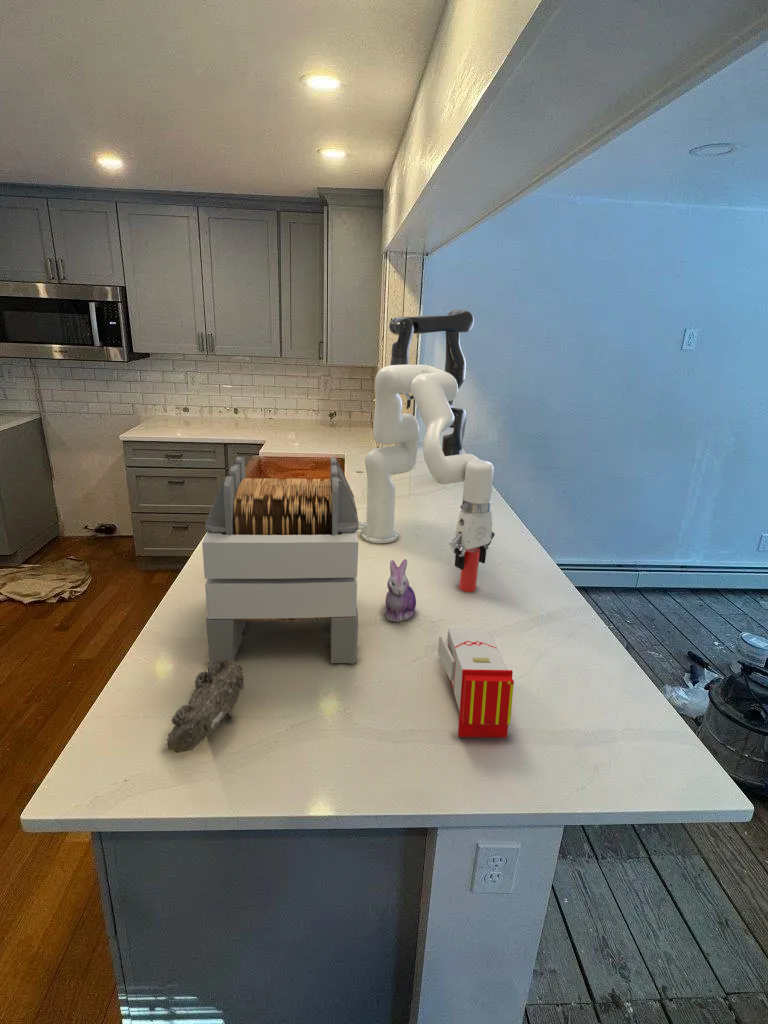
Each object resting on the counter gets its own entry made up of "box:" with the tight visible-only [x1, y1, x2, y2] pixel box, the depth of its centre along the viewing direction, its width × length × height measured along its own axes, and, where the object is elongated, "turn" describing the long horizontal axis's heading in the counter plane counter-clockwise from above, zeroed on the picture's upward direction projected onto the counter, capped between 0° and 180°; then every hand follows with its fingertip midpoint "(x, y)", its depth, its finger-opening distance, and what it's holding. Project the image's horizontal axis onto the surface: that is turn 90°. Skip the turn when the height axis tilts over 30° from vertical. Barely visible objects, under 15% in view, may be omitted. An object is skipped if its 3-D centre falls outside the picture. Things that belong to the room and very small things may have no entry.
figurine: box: [384, 558, 417, 623], centre depth 145 cm, size 9×10×15 cm
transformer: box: [201, 455, 360, 666], centre depth 133 cm, size 34×33×41 cm
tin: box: [458, 547, 480, 593], centre depth 161 cm, size 5×5×12 cm
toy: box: [437, 628, 515, 738], centre depth 117 cm, size 12×13×30 cm
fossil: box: [166, 659, 245, 754], centre depth 106 cm, size 22×10×15 cm
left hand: (469, 564), depth 161 cm, fingers open, 7 cm apart
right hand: (397, 408), depth 238 cm, fingers open, 8 cm apart
